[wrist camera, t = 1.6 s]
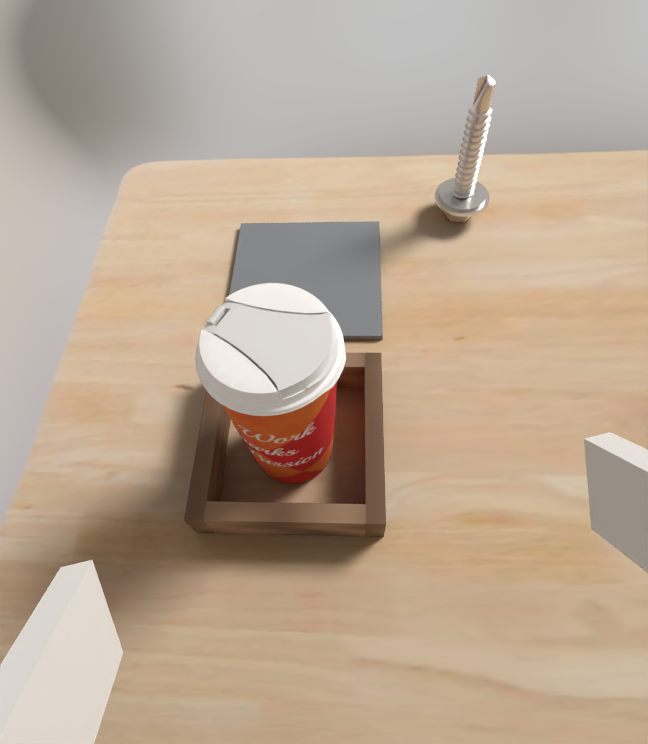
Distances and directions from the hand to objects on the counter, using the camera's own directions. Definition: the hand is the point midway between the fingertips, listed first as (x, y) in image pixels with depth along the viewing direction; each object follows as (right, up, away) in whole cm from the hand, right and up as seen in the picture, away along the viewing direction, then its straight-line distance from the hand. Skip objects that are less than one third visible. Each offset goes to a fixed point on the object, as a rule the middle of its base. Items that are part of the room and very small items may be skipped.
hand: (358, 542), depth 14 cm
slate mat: (-2, +13, +32) cm, 35 cm away
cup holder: (-3, -1, +24) cm, 24 cm away
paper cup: (-3, -1, +24) cm, 24 cm away
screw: (+12, +19, +36) cm, 42 cm away
